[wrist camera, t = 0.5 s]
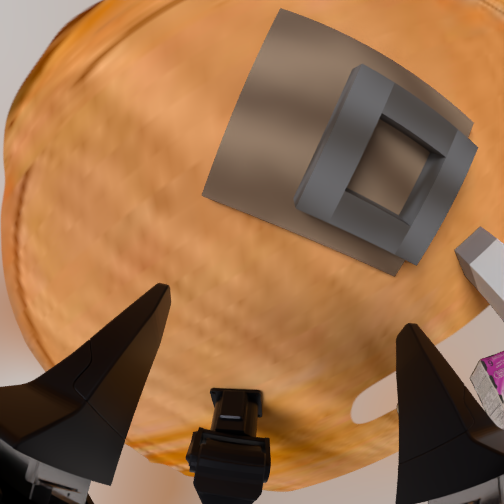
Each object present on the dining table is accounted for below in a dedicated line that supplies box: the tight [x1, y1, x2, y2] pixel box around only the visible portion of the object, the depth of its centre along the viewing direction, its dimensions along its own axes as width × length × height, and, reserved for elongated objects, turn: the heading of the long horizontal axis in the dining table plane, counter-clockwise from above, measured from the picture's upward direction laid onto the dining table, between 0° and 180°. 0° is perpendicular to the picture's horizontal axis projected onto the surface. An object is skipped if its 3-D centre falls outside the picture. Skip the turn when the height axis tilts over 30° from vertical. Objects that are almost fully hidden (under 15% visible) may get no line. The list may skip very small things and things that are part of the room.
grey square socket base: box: [202, 8, 478, 277], centre depth 18 cm, size 16×18×4 cm
